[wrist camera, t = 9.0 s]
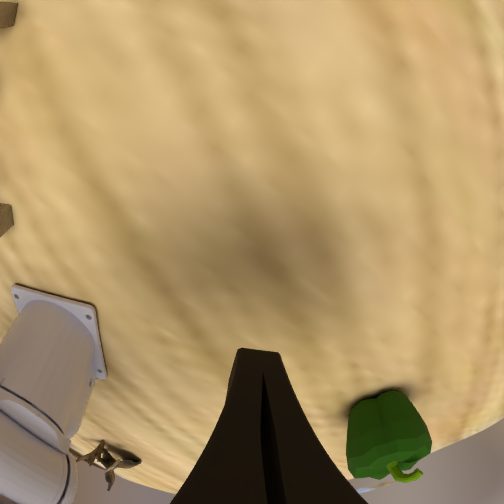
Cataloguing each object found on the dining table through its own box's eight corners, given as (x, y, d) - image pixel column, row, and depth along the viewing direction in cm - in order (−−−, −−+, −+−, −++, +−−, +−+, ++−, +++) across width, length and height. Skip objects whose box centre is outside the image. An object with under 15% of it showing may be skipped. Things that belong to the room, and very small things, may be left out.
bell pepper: (347, 429, 32) (359, 504, 24) (330, 399, 28) (345, 493, 20) (415, 405, 31) (437, 479, 22) (412, 371, 27) (443, 461, 18)
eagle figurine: (72, 442, 36) (106, 474, 39) (76, 476, 30) (114, 506, 33) (113, 424, 38) (143, 457, 42) (121, 457, 32) (155, 488, 35)
